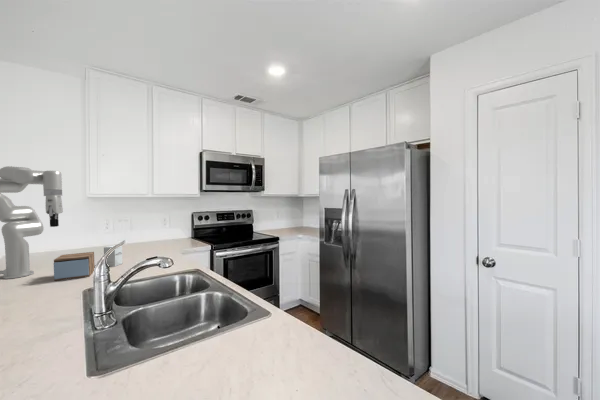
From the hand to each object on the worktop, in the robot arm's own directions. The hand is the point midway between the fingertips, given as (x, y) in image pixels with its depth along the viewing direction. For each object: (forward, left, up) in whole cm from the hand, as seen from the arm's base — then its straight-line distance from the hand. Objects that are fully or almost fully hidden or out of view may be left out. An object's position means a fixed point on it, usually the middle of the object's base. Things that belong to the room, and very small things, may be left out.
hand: (54, 226), depth 147 cm
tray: (+8, +1, -28) cm, 29 cm away
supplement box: (+24, +18, -29) cm, 42 cm away
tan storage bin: (+8, +2, -29) cm, 30 cm away
